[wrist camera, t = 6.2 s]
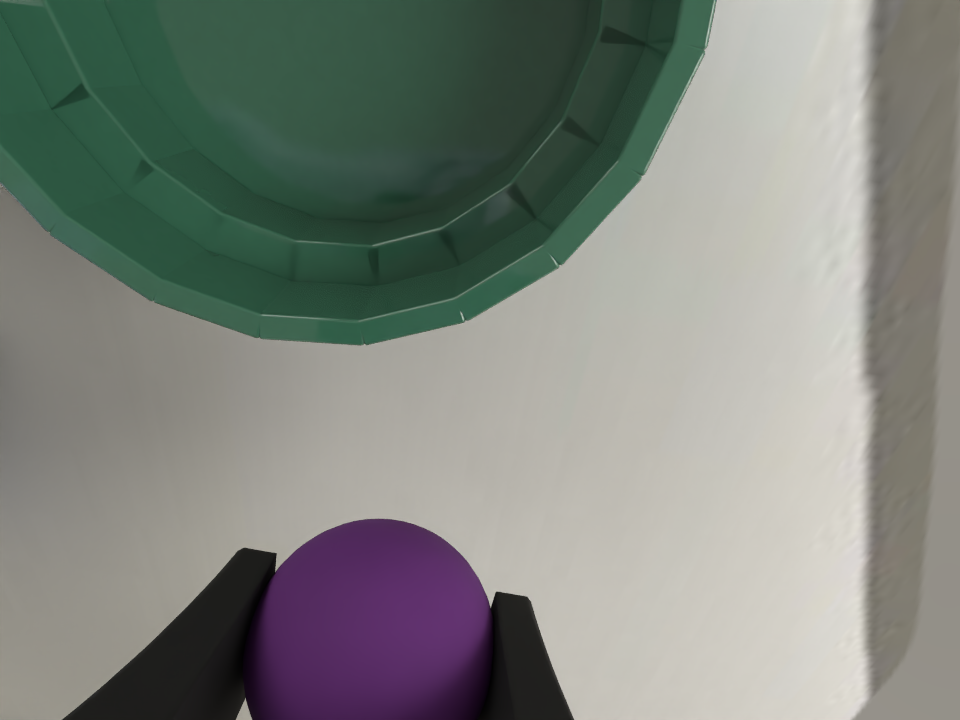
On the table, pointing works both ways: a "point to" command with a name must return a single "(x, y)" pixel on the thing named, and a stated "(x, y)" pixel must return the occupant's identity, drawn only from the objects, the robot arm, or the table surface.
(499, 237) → the bowl
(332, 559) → the ball
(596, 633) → the table surface
